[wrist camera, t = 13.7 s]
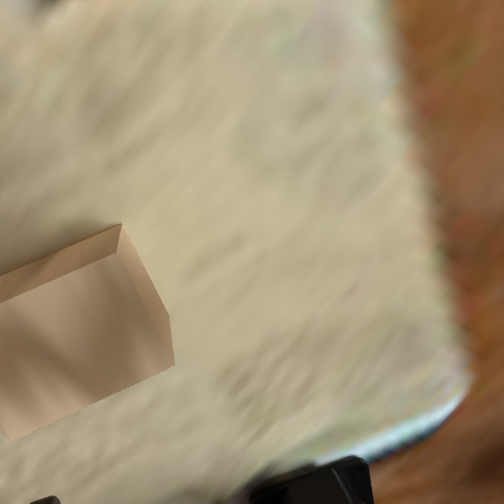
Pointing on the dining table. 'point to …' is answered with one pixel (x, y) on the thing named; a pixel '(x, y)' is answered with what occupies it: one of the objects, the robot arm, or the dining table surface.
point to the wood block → (77, 331)
